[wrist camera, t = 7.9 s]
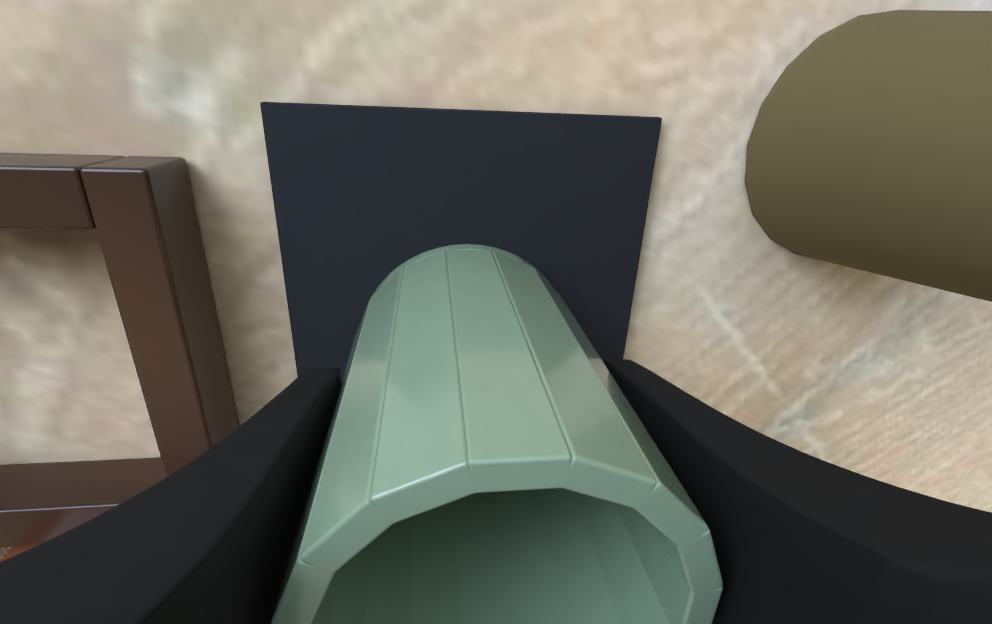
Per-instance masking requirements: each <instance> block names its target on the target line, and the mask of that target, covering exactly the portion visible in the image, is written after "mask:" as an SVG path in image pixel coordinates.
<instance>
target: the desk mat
mask: <svg viewBox="0 0 992 624" xmlns="http://www.w3.org/2000/svg"><path fill="white" fill-rule="evenodd" d="M260 105H261V112H262V119H263V127H264V134H265V141H266V148H267V156H268V163H269V170H270V178H271V185H272V192H273V199H274V207H275V214H276V221H277V229H278V236H279V243H280V250H281V258H282V265H283V272H284V280H285V287H286V294H287V301H288V309H289V316H290V323H291V331H292V338H293V345H294V352H295V360H296V367H297V374H298V377H299V376H300V375H301V374H302V373H304V372H305V371H306V370H307V369H309V368H320V367H340V377H341V383H342V379H343V376H344V372H345V369H346V366H347V362H348V359H349V356H350V352H351V349H352V345H353V342H354V339H355V335H356V333H357V330H358V327H359V325H360V322H361V320H362V317H363V313H364V310H365V308H366V306H367V304H368V302H369V299H370V297H371V296H372V294H373V293H374V291H375V290H376V288H377V287H378V286H379V285H380V283H381V282H382V281H383V280H384V279H385V278H386V277H387V276H388V275H389V274H390V273H391V272H392V271H394V270H395V269H396V268H397V267H398V266H400V265H401V264H403V263H404V262H406V261H408V260H409V259H411V258H413V257H415V256H417V255H419V254H421V253H423V252H426V251H429V250H433V249H436V248H439V247H445V246H450V245H461V244H473V245H484V246H489V247H494V248H498V249H501V250H504V251H507V252H510V253H512V254H514V255H516V256H518V257H520V258H522V259H524V260H525V261H527V262H528V263H530V264H531V265H533V266H534V267H535V268H536V269H537V270H538V271H539V272H541V273H542V274H543V275H544V276H545V278H546V279H547V280H548V281H549V282H550V284H551V285H552V286H553V288H554V289H555V290H556V291H557V292H558V293H559V294H560V295H561V297H562V298H563V300H564V302H565V303H566V305H567V306H568V308H569V309H570V311H571V313H572V314H573V316H574V317H575V319H576V320H577V322H578V323H579V325H580V327H581V328H582V330H583V331H584V333H585V334H586V336H587V338H588V339H589V341H590V342H591V344H592V345H593V347H594V349H595V350H596V352H597V353H598V355H599V356H600V358H601V360H602V361H603V360H623V356H624V350H625V344H626V338H627V332H628V325H629V319H630V313H631V307H632V301H633V294H634V288H635V282H636V276H637V270H638V263H639V257H640V251H641V245H642V239H643V232H644V226H645V220H646V214H647V208H648V201H649V195H650V189H651V183H652V177H653V171H654V164H655V158H656V152H657V146H658V140H659V133H660V127H661V121H662V118H659V117H639V116H613V115H587V114H561V113H536V112H510V111H484V110H458V109H432V108H407V107H381V106H355V105H329V104H303V103H277V102H261V104H260Z"/></svg>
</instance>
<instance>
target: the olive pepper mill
mask: <svg viewBox="0 0 992 624" xmlns="http://www.w3.org/2000/svg"><path fill="white" fill-rule="evenodd" d="M745 184H746V188H747V192H748V196H749V201H750V205H751V209H752V213H753V215H754V217H755V218H756V220H757V221H758V222H759V224H760V225H761V227H762V228H763V229H764V231H765V232H766V234H767V235H768V236H769V238H770V239H771V240H773V241H775V242H776V243H778V244H780V245H781V246H783V247H785V248H786V249H788V250H790V251H791V252H793V253H795V254H799V255H803V256H807V257H811V258H815V259H819V260H823V261H827V262H831V263H835V264H840V265H844V266H848V267H852V268H856V269H860V270H864V271H868V272H872V273H876V274H880V275H884V276H889V277H893V278H897V279H901V280H905V281H909V282H913V283H917V284H921V285H925V286H929V287H933V288H938V289H942V290H946V291H950V292H954V293H958V294H962V295H966V296H970V297H974V298H978V299H983V300H987V301H991V302H992V11H923V10H896V11H889V12H882V13H875V14H869V15H862V16H858V17H856V18H854V19H852V20H850V21H848V22H846V23H844V24H842V25H840V26H838V27H836V28H834V29H833V30H831V31H829V32H827V33H825V34H823V35H821V36H820V37H819V38H818V39H816V40H815V41H814V42H813V43H812V44H811V45H810V46H809V47H808V48H807V49H806V50H804V51H803V52H802V53H801V54H800V55H799V56H798V57H797V58H796V59H795V60H794V61H792V62H791V63H790V64H789V65H788V66H787V67H786V69H785V70H784V72H783V73H782V75H781V76H780V78H779V79H778V81H777V82H776V84H775V86H774V87H773V89H772V90H771V92H770V93H769V95H768V96H767V98H766V99H765V101H764V102H763V104H762V106H761V109H760V111H759V114H758V117H757V120H756V123H755V126H754V128H753V131H752V134H751V137H750V140H749V143H748V148H747V162H746V176H745Z"/></svg>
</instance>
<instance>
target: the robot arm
mask: <svg viewBox="0 0 992 624" xmlns="http://www.w3.org/2000/svg"><path fill="white" fill-rule="evenodd" d="M603 363H604V364H605V366H606V367H607V369H608V370H609V372H610V374H611V375H612V377H613V378H614V380H615V381H616V383H617V385H618V386H619V388H620V389H621V391H622V392H623V394H624V396H625V397H626V399H627V400H628V402H629V403H630V405H631V406H632V408H633V410H634V411H635V413H636V414H637V416H638V417H639V419H640V421H641V422H642V424H643V425H644V427H645V428H646V430H647V432H648V433H649V435H650V436H651V438H652V439H653V441H654V442H655V444H656V446H657V447H658V449H659V450H660V452H661V453H662V455H663V457H664V458H665V460H666V461H667V463H668V464H669V466H670V468H671V469H672V471H673V472H674V474H675V475H676V477H677V478H678V480H679V482H680V483H681V485H682V486H683V488H684V489H685V491H686V493H687V494H688V496H689V497H690V499H691V500H692V502H693V504H694V505H695V507H696V508H697V510H698V511H699V513H700V514H701V516H702V518H703V519H704V521H705V522H706V524H707V526H708V527H709V529H710V531H711V535H712V539H713V544H714V548H715V552H716V556H717V560H718V564H719V568H720V572H721V576H722V580H723V586H722V587H723V591H722V594H721V597H720V601H719V604H718V607H717V610H716V613H715V616H714V619H713V623H712V624H992V513H990V512H986V511H982V510H978V509H974V508H970V507H966V506H962V505H958V504H954V503H950V502H946V501H943V500H939V499H936V498H933V497H929V496H926V495H923V494H919V493H916V492H913V491H909V490H906V489H903V488H899V487H896V486H893V485H890V484H887V483H884V482H881V481H878V480H875V479H872V478H869V477H866V476H863V475H860V474H858V473H855V472H852V471H850V470H847V469H844V468H841V467H839V466H836V465H833V464H831V463H828V462H825V461H823V460H820V459H818V458H815V457H813V456H810V455H808V454H805V453H803V452H801V451H798V450H796V449H794V448H792V447H789V446H787V445H785V444H783V443H781V442H778V441H776V440H774V439H772V438H769V437H767V436H765V435H763V434H761V433H759V432H757V431H755V430H753V429H751V428H749V427H747V426H745V425H743V424H741V423H739V422H738V421H736V420H734V419H732V418H730V417H728V416H726V415H724V414H722V413H721V412H719V411H717V410H715V409H714V408H712V407H710V406H708V405H706V404H705V403H703V402H701V401H700V400H698V399H696V398H695V397H693V396H691V395H689V394H688V393H686V392H684V391H683V390H681V389H680V388H678V387H676V386H675V385H673V384H671V383H670V382H668V381H666V380H665V379H663V378H661V377H660V376H658V375H656V374H655V373H653V372H651V371H650V370H648V369H646V368H644V367H643V366H641V365H639V364H637V363H635V362H633V361H631V360H603ZM340 386H341V377H340V367H320V368H309V369H307V370H306V371H305V372H304V373H302V374H301V375H300V376H299V377H298V378H297V379H296V380H294V381H293V382H292V383H291V384H290V385H289V386H288V387H286V388H285V389H284V390H283V391H282V392H281V393H280V394H278V395H277V396H276V397H275V398H274V399H273V400H271V401H270V402H269V403H268V404H267V405H265V406H264V407H263V408H262V409H261V410H260V411H258V412H257V413H256V414H255V415H254V416H252V417H251V418H250V419H249V420H247V421H246V422H245V423H243V424H242V425H241V426H239V427H238V428H237V429H235V430H234V431H233V432H231V433H230V434H229V435H228V436H226V437H225V438H224V439H222V440H221V441H220V442H218V443H217V444H216V445H214V446H213V447H212V448H210V449H209V450H207V451H206V452H205V453H203V454H202V455H200V456H199V457H197V458H196V459H194V460H193V461H191V462H190V463H188V464H187V465H185V466H184V467H182V468H180V469H179V470H177V471H176V472H174V473H173V474H171V475H169V476H168V477H166V478H165V479H163V480H161V481H160V482H158V483H156V484H155V485H153V486H151V487H150V488H148V489H146V490H144V491H142V492H141V493H139V494H137V495H135V496H133V497H131V498H130V499H128V500H126V501H124V502H122V503H120V504H119V505H117V506H115V507H113V508H111V509H109V510H108V511H106V512H104V513H102V514H100V515H98V516H97V517H95V518H93V519H91V520H89V521H87V522H85V523H83V524H81V525H79V526H77V527H75V528H73V529H71V530H69V531H67V532H65V533H63V534H61V535H58V536H56V537H54V538H52V539H50V540H48V541H46V542H44V543H42V544H39V545H37V546H35V547H33V548H31V549H28V550H26V551H24V552H22V553H20V554H17V555H15V556H13V557H11V558H9V559H6V560H4V561H2V562H0V624H271V619H272V616H273V612H274V609H275V605H276V602H277V599H278V595H279V592H280V589H281V585H282V582H283V578H284V575H285V572H286V568H287V565H288V561H289V558H290V555H291V551H292V548H293V545H294V541H295V538H296V534H297V531H298V528H299V524H300V521H301V518H302V514H303V511H304V507H305V504H306V501H307V497H308V494H309V491H310V487H311V484H312V480H313V477H314V474H315V470H316V467H317V464H318V460H319V457H320V453H321V450H322V447H323V443H324V440H325V437H326V433H327V430H328V426H329V423H330V420H331V416H332V413H333V410H334V406H335V403H336V399H337V396H338V393H339V389H340Z"/></svg>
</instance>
